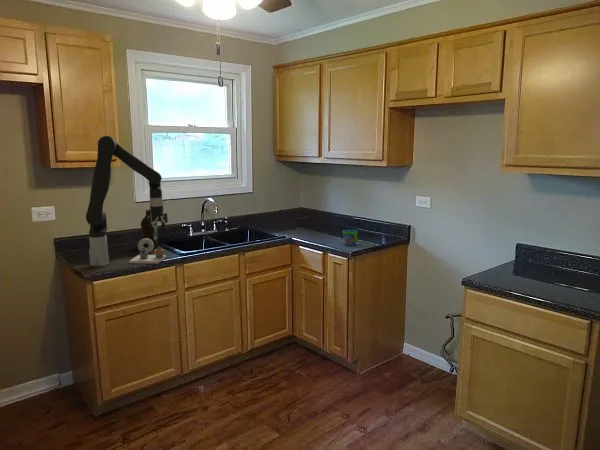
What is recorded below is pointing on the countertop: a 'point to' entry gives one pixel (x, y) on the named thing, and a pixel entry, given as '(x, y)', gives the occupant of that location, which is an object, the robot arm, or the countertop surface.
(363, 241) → the countertop surface
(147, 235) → the olive oil
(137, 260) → the board
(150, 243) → the donut
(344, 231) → the snack cup
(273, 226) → the countertop surface
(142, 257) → the stand rod
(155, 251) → the ring
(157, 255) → the hub post
